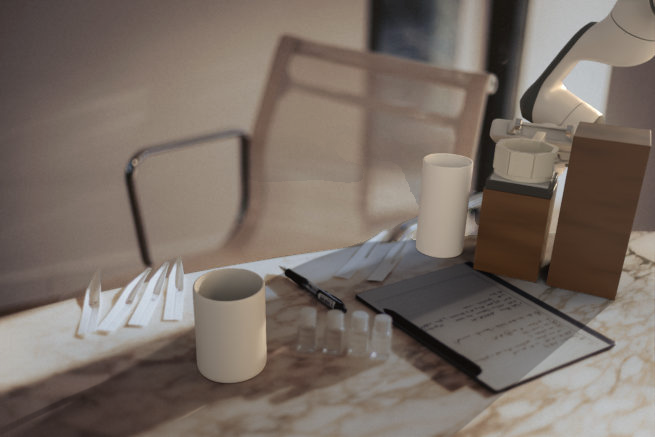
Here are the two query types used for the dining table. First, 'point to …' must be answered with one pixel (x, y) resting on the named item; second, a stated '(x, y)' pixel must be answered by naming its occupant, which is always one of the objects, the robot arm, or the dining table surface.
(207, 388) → the dining table surface
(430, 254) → the cup
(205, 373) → the mug
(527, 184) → the scale
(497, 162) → the cream rounded piece
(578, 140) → the stand
